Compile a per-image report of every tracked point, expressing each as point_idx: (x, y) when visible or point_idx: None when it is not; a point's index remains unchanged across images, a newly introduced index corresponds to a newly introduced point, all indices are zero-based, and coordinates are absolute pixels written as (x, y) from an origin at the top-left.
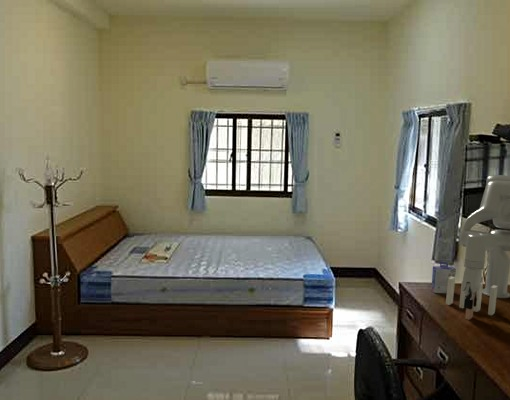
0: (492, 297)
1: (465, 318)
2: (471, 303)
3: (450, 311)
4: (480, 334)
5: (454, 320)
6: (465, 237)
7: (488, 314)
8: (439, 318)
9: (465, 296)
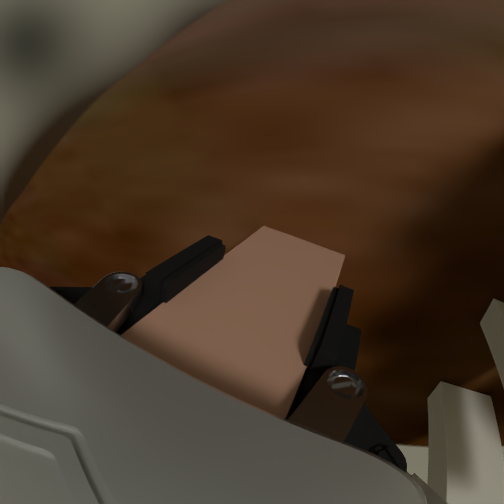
0: None
1: (262, 228)
2: None
3: (399, 105)
4: (86, 286)
5: (183, 153)
6: None
7: (438, 385)
8: (168, 59)
9: (65, 288)
